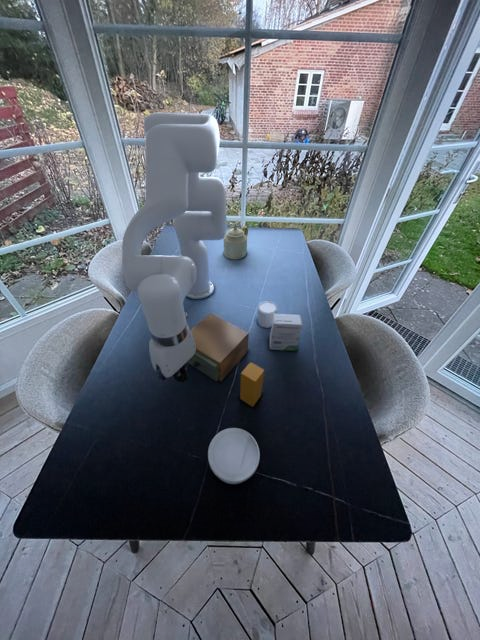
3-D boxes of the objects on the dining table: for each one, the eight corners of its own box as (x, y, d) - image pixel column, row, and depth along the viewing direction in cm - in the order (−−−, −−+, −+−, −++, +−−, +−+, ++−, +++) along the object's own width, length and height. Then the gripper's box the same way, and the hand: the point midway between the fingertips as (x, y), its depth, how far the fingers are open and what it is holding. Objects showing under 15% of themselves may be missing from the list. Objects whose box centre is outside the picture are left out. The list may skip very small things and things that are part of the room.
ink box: (294, 339, 89) (301, 313, 80) (296, 351, 85) (303, 325, 77) (269, 338, 89) (272, 312, 81) (269, 350, 85) (273, 323, 77)
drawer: (214, 384, 74) (212, 370, 70) (179, 361, 80) (175, 346, 75) (242, 353, 83) (242, 338, 78) (208, 334, 88) (207, 320, 83)
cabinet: (221, 381, 76) (220, 363, 70) (183, 357, 82) (179, 338, 76) (247, 351, 84) (248, 332, 78) (212, 332, 90) (210, 313, 84)
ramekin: (265, 480, 58) (267, 472, 55) (215, 496, 56) (214, 489, 52) (249, 431, 66) (250, 421, 62) (205, 444, 63) (203, 434, 60)
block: (239, 398, 72) (240, 373, 64) (248, 387, 75) (250, 361, 67) (252, 407, 71) (255, 381, 62) (261, 395, 73) (264, 369, 65)
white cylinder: (274, 330, 92) (276, 315, 87) (254, 327, 93) (256, 312, 88) (276, 317, 96) (278, 302, 92) (257, 314, 97) (259, 299, 93)
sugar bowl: (226, 243, 136) (225, 214, 126) (247, 245, 135) (249, 216, 125) (222, 258, 125) (221, 228, 115) (245, 260, 125) (246, 229, 114)
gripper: (181, 304, 61) (190, 353, 74) (128, 344, 52) (148, 392, 65) (206, 317, 58) (211, 366, 71) (154, 362, 49) (170, 408, 62)
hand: (181, 378), depth 68 cm, fingers closed
